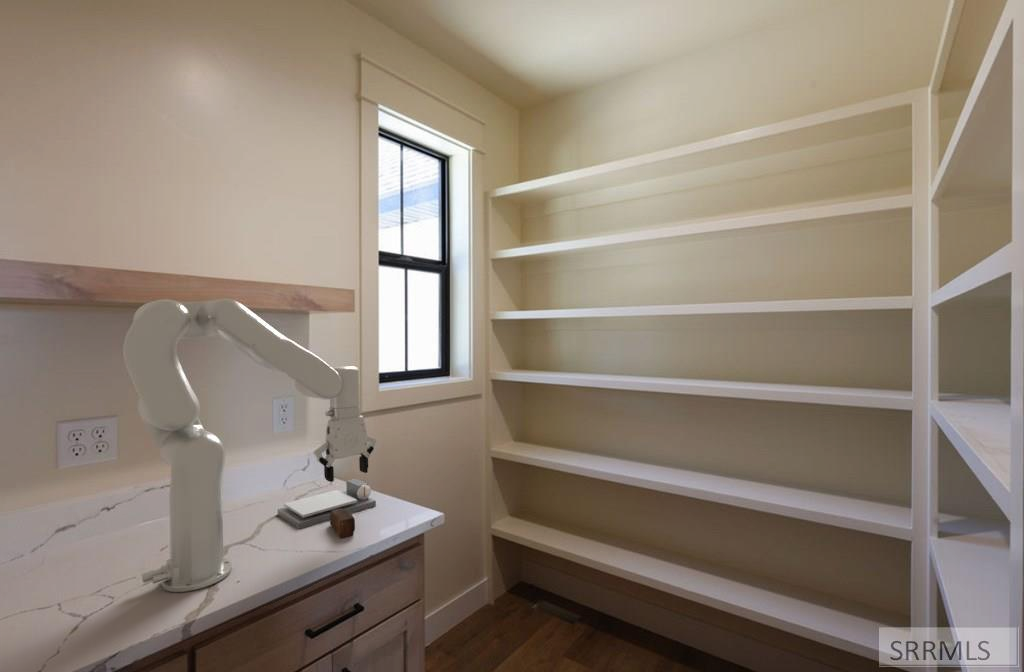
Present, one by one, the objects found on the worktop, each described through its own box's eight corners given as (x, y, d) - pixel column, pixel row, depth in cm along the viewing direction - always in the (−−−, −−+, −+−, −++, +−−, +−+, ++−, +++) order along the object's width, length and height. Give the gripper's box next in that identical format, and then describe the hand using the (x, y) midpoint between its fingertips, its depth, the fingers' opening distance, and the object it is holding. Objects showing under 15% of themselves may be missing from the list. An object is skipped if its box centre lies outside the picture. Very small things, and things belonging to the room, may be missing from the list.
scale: (299, 528, 127) (298, 506, 127) (277, 514, 138) (277, 493, 138) (376, 505, 144) (376, 485, 144) (352, 494, 155) (351, 475, 155)
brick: (355, 535, 123) (355, 517, 123) (339, 539, 121) (339, 521, 121) (344, 522, 132) (344, 505, 132) (329, 525, 130) (329, 508, 130)
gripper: (319, 419, 118) (321, 487, 118) (381, 409, 131) (383, 471, 131) (306, 416, 123) (309, 481, 124) (367, 406, 136) (369, 466, 136)
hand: (347, 476), depth 127 cm, fingers open, 9 cm apart
